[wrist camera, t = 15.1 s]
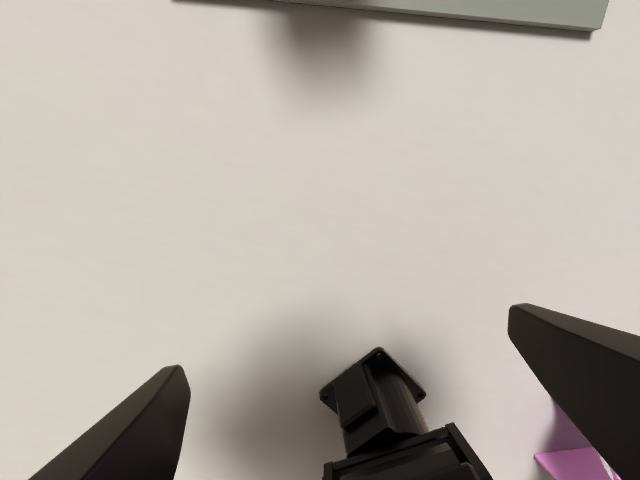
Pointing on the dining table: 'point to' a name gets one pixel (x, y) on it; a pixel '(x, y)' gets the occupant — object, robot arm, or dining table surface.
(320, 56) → the dining table surface
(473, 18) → the slate board
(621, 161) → the dining table surface
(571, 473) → the toy chair
